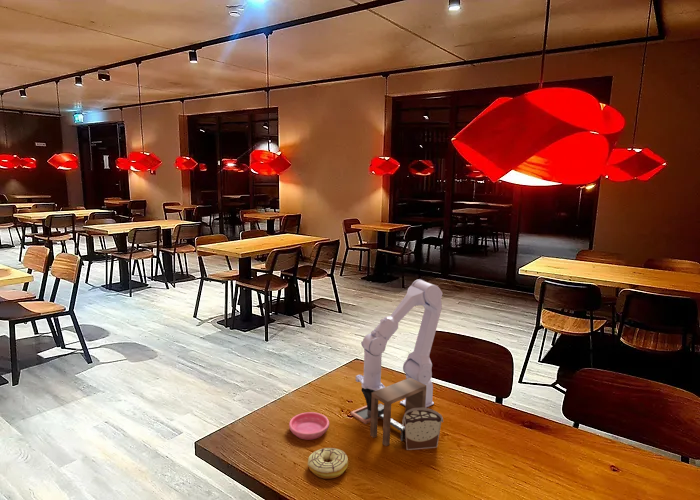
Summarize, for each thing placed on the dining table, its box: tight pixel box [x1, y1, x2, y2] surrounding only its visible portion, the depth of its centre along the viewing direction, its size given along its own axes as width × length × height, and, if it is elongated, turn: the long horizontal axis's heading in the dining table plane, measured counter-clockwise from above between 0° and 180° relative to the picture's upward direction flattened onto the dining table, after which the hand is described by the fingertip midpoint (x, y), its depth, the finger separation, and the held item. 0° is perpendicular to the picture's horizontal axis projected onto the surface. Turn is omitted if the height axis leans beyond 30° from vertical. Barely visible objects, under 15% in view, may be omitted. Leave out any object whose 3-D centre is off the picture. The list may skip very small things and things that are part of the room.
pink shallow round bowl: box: [288, 411, 330, 441], centre depth 138 cm, size 12×12×3 cm
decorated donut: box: [307, 447, 349, 480], centre depth 120 cm, size 10×11×4 cm
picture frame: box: [350, 404, 380, 425], centre depth 149 cm, size 11×8×1 cm
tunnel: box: [369, 378, 427, 447], centre depth 138 cm, size 17×7×14 cm, turn 129°
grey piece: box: [367, 403, 406, 442], centre depth 140 cm, size 8×17×4 cm, turn 39°
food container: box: [401, 407, 444, 451], centre depth 132 cm, size 12×6×10 cm, turn 100°
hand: (371, 408), depth 148 cm, fingers closed
